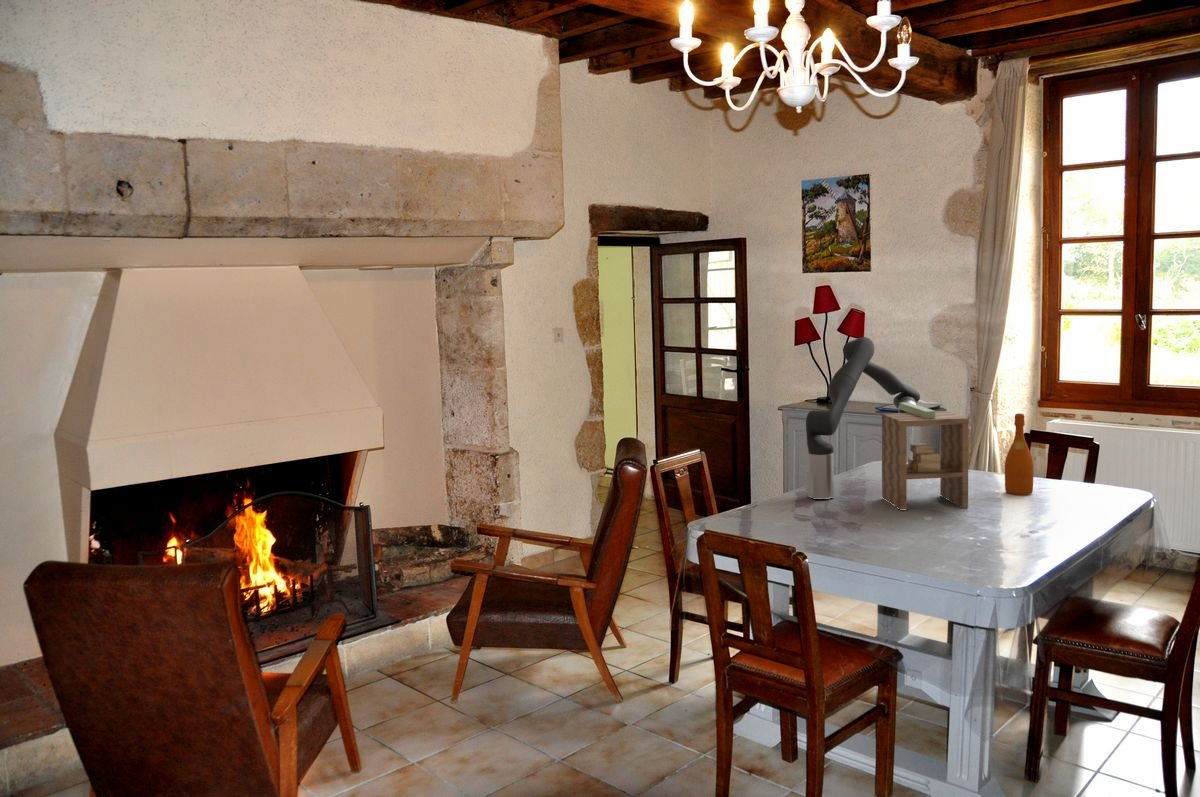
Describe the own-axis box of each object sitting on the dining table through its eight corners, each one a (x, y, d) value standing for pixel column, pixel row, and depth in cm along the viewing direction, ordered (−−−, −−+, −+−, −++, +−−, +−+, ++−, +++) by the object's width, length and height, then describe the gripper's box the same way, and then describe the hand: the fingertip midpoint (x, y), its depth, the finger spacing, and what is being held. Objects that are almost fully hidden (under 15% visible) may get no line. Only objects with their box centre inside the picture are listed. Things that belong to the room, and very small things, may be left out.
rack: (882, 498, 355) (881, 413, 351) (945, 495, 355) (945, 411, 352) (901, 511, 335) (900, 421, 331) (968, 507, 336) (968, 418, 332)
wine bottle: (998, 492, 358) (999, 413, 354) (1017, 489, 362) (1018, 411, 358) (1020, 497, 349) (1021, 416, 345) (1039, 493, 353) (1040, 413, 349)
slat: (899, 409, 361) (899, 402, 361) (908, 408, 361) (908, 402, 361) (925, 418, 335) (925, 411, 335) (935, 417, 336) (935, 410, 335)
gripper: (888, 405, 377) (889, 418, 362) (926, 400, 372) (928, 413, 357) (891, 422, 378) (892, 436, 364) (928, 418, 374) (931, 432, 359)
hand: (910, 425), depth 360 cm, fingers open, 8 cm apart
